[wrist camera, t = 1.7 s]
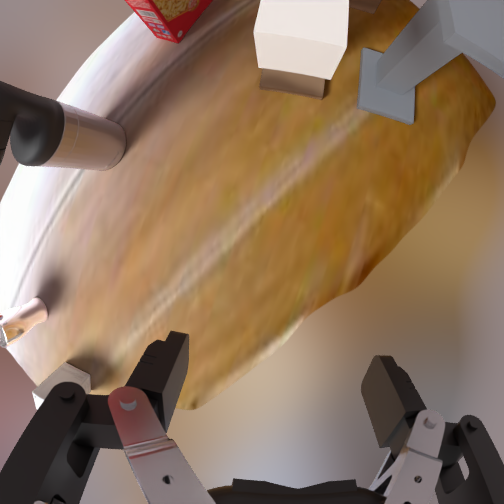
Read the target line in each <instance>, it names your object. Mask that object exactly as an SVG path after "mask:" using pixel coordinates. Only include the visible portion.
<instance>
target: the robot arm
mask: <svg viewBox="0 0 504 504" xmlns="http://www.w3.org/2000/svg"><path fill="white" fill-rule="evenodd" d="M9 136H10V144H11V150H12V153H13V156H14V158H15V159H16V160H17V161H18V162H19V163H20V164H22V165H26V166H42V167H61V168H76V169H88V170H99V171H104V170H108V169H111V168H112V167H114V166H115V165H116V164H117V163H118V162H119V161H120V159H121V158H122V156H123V154H124V151H125V147H126V136H125V132H124V130H123V128H122V127H121V126H120V125H119V124H117V123H115V122H112V121H110V120H107V119H105V118H102V117H100V116H97V115H95V114H92V113H89V112H87V111H84V110H81V109H78V108H76V107H73V106H70V105H67V104H64V103H61V102H58V101H55V100H52V99H49V98H46V97H42V96H38V95H36V94H33V93H30V92H27V91H24V90H22V89H19V88H17V87H14V86H12V85H9V84H7V83H4V82H2V81H0V165H1V162H2V159H3V156H4V153H5V149H6V146H7V142H8V139H9ZM188 361H189V334H185V333H180V332H175V331H170V333H169V335H168V337H167V339H166V341H161V340H156V341H154V342H153V343H152V344H150V345H149V346H148V347H147V349H146V350H145V352H144V354H143V355H142V357H141V359H140V362H138V364H137V366H136V367H135V369H134V371H133V373H132V374H131V376H130V378H129V380H128V381H127V383H126V385H125V386H124V387H120V388H117V389H115V390H114V391H112V392H111V394H110V395H91V394H86V393H85V390H84V389H83V387H82V386H81V385H79V384H77V383H75V382H61V383H59V384H57V385H55V386H54V387H53V388H52V389H51V391H50V392H49V394H48V395H47V397H46V398H45V400H44V401H43V403H42V404H41V406H40V407H39V409H38V410H37V412H36V413H35V415H34V416H33V418H32V419H31V421H30V423H29V424H28V426H27V427H26V429H25V431H24V432H23V434H22V435H21V437H20V439H19V441H18V442H17V444H16V446H15V447H14V449H13V451H12V452H11V454H10V456H9V458H8V460H7V461H6V463H5V465H4V467H3V468H2V470H1V472H0V504H79V503H80V500H81V497H82V494H83V491H84V489H85V486H86V483H87V481H88V478H89V475H90V473H91V470H92V468H93V465H94V462H95V460H96V457H97V455H98V452H99V450H100V448H108V449H123V450H124V452H125V455H126V457H127V459H128V462H129V464H130V466H131V469H132V471H133V473H134V475H135V477H136V479H137V482H138V484H139V485H140V488H141V490H142V492H143V494H144V496H145V498H146V500H147V502H148V504H430V501H431V499H432V496H433V493H434V490H435V492H436V495H437V499H438V502H439V504H504V464H503V462H502V460H501V458H500V456H499V454H498V452H497V450H496V448H495V446H494V444H493V442H492V440H491V438H490V436H489V434H488V432H487V431H486V429H485V427H484V425H483V423H482V422H481V421H480V420H479V419H478V418H477V417H475V416H472V415H465V416H463V417H462V418H461V420H460V421H459V422H458V423H448V422H445V421H444V419H443V417H442V416H441V415H440V414H439V413H437V412H435V411H433V410H427V408H426V406H425V405H424V403H423V401H422V399H421V397H420V395H419V394H418V392H417V390H416V389H415V386H414V384H413V383H412V381H411V379H410V377H409V375H408V374H407V373H406V372H405V371H404V370H403V369H402V368H401V367H398V366H397V364H396V362H395V361H394V359H393V357H392V356H380V355H379V356H377V355H376V356H375V357H374V358H373V359H372V362H371V364H370V366H369V368H368V370H367V373H366V375H365V377H364V379H363V381H362V385H361V393H362V396H363V399H364V402H365V405H366V408H367V410H368V414H369V417H370V419H371V423H372V426H373V429H374V432H375V435H376V438H377V441H378V444H379V447H380V448H384V447H390V449H391V451H390V452H389V453H388V455H387V457H386V459H385V460H384V462H383V465H382V466H381V468H380V470H379V472H378V474H377V476H376V478H375V480H374V481H373V483H372V485H371V486H370V487H369V488H368V489H366V488H361V487H357V485H356V480H355V479H354V480H343V481H329V482H325V483H321V484H317V485H313V486H309V487H305V488H300V489H296V488H291V487H286V486H282V485H278V484H274V483H270V482H266V481H254V480H243V479H233V482H232V485H231V486H223V487H217V488H213V489H210V490H207V491H206V489H205V488H204V486H203V485H202V483H201V482H200V480H199V479H198V478H197V476H196V474H195V473H194V471H193V470H192V468H191V467H190V465H189V464H188V462H187V460H186V459H185V457H184V456H183V454H182V452H181V451H180V449H179V447H178V446H177V444H176V443H175V441H174V440H173V439H169V438H168V436H167V435H166V433H167V430H168V427H169V424H170V421H171V418H172V415H173V412H174V409H175V407H176V404H177V401H178V398H179V395H180V392H181V389H182V386H183V383H184V380H185V378H186V374H187V370H188ZM463 456H464V458H465V461H466V463H467V466H468V468H469V476H468V478H467V479H466V480H465V479H464V476H463V474H462V471H461V469H460V466H459V463H458V461H459V460H460V459H461V458H462V457H463Z"/></svg>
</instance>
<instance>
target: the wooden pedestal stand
mask: <svg viewBox="0 0 504 504" xmlns="http://www.w3.org/2000/svg"><path fill="white" fill-rule="evenodd" d="M380 2H381V0H349V7H351V8H355V9H359V10H362V11H366V12H369V13H372V14H374V12H375V11H376V9H377V7H378V5H379V4H380ZM324 83H325V79H324V78H319V77H315V76H309V75H304V74H299V73H293V72H287V71H280V70H273V69H265V68H263V70H262V75H261V80H260V86H259V87H260V89H261V90H269V91H276V92H282V93H288V94H294V95H300V96H305V97H310V98H315V99H320V100H321V99H322V97H323V91H324Z"/></svg>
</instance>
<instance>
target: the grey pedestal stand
mask: <svg viewBox="0 0 504 504" xmlns="http://www.w3.org/2000/svg"><path fill="white" fill-rule="evenodd" d="M461 53H464V54H466V55H468V56H470V57H471V58H473V59H474V60H476V61H478V62H479V63H481V64H483V65H485V66H486V67H488V68H489V69H490V70H492V71H493V72H495V73H497V74H498V75H499V76H501V77H502V78H504V0H427V1H426V3H425V4H424V5H423V6H422V7H421V8H420V10H419V11H418V12H417V13H416V14H415V16H414V17H413V18H412V19H411V21H410V22H409V23H408V24H407V25H406V27H405V28H404V29H403V30H402V32H401V33H400V34H399V35H398V36H397V38H396V39H395V40H394V41H393V43H392V44H391V45H390V46H389V48H388V49H387V50H386V51H385V53H384V54H383V53H380V52H377V51H374V50H370V49H367V48H364V47H363V49H362V50H361V61H360V76H359V89H358V100H357V109H361V110H365V111H368V112H371V113H375V114H378V115H381V116H385V117H388V118H391V119H394V120H397V121H400V122H403V123H406V124H409V125H411V124H413V123H414V103H415V86H416V85H417V84H418V83H420V82H421V81H422V80H424V79H425V78H427V77H428V76H429V75H431V74H432V73H434V72H435V71H436V70H438V69H439V68H441V67H442V66H443V65H445V64H446V63H448V62H449V61H451V60H452V59H453V58H455V57H456V56H458V55H459V54H461Z"/></svg>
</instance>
